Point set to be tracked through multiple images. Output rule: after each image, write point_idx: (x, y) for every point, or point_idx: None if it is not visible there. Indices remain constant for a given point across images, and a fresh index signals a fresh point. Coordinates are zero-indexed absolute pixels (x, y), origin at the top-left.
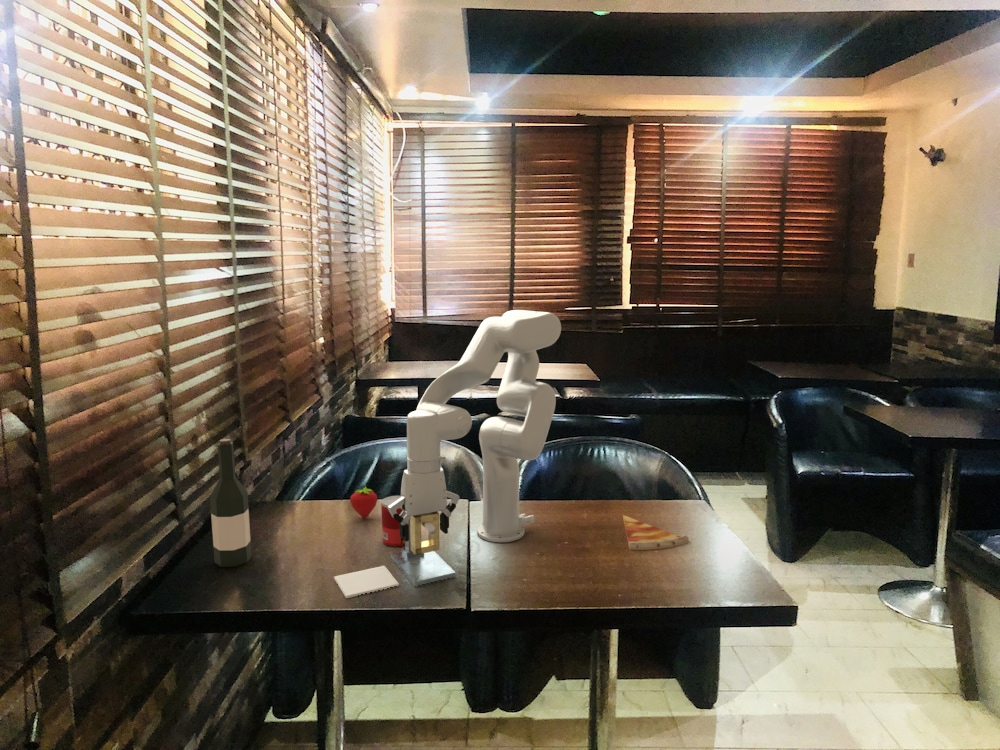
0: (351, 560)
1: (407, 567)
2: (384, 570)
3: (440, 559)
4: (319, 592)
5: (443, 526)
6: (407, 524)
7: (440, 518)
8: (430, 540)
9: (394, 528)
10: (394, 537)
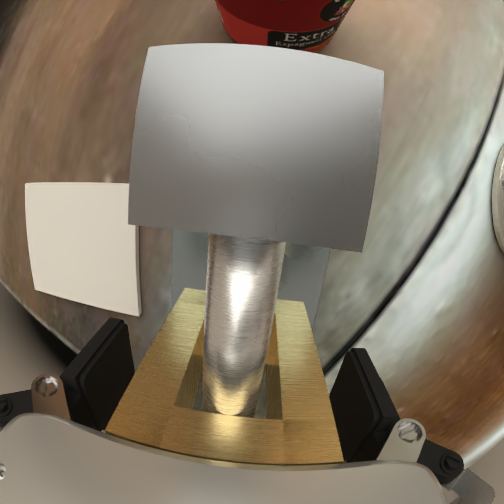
0: (88, 88)
1: (187, 262)
2: (125, 219)
3: (319, 272)
4: (7, 229)
5: (339, 410)
6: (98, 425)
7: (363, 406)
8: (271, 340)
9: (238, 16)
10: (240, 35)
